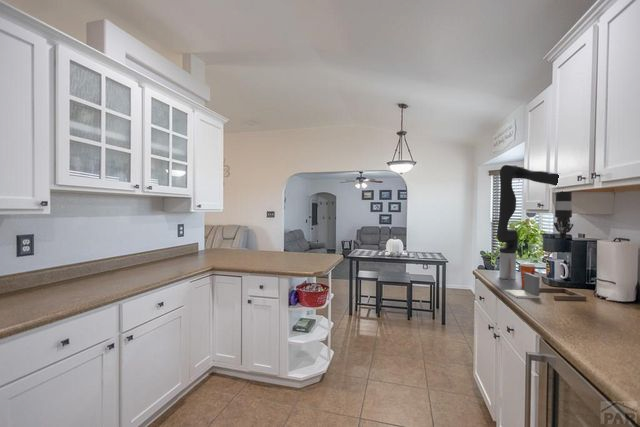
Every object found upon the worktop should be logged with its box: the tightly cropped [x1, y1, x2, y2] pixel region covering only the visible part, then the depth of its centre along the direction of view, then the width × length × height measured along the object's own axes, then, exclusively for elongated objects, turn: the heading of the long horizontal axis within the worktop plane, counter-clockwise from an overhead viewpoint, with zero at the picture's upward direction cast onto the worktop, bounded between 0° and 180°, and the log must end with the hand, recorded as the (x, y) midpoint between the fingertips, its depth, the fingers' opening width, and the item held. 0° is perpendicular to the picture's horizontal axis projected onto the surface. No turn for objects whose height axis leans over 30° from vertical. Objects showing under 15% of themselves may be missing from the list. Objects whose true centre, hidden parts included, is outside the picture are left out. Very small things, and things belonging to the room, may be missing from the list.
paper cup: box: [519, 261, 536, 288], centre depth 183 cm, size 8×8×14 cm
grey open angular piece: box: [504, 273, 541, 299], centre depth 166 cm, size 12×12×11 cm
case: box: [539, 287, 587, 301], centre depth 164 cm, size 16×15×2 cm
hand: (563, 239), depth 174 cm, fingers closed
